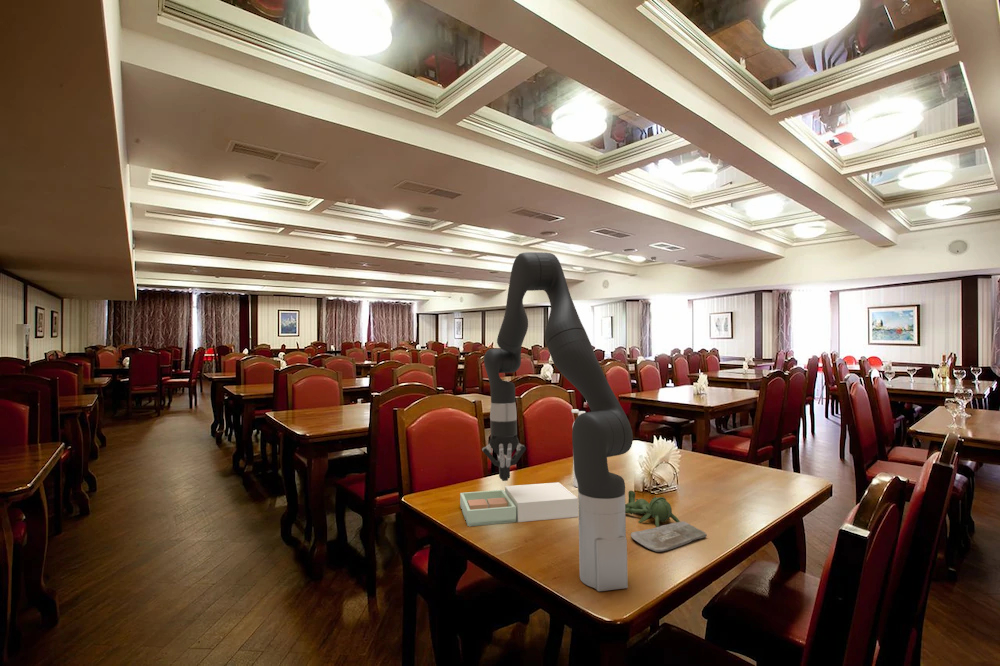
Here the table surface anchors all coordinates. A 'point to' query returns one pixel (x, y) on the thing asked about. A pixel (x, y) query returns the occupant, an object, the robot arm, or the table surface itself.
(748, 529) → the table surface
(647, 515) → the figurine
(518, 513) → the raised plate
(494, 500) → the tile
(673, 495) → the table surface
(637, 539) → the stone
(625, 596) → the table surface
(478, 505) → the tile
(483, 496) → the box
